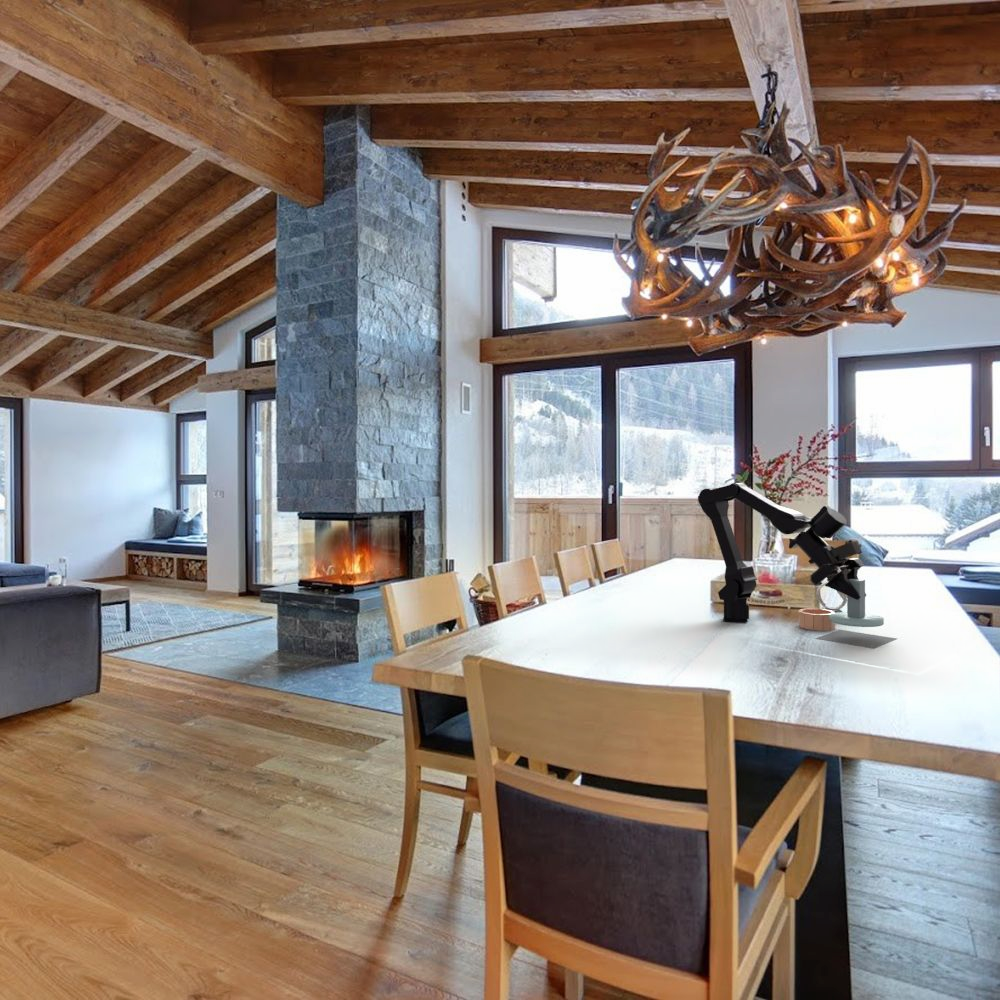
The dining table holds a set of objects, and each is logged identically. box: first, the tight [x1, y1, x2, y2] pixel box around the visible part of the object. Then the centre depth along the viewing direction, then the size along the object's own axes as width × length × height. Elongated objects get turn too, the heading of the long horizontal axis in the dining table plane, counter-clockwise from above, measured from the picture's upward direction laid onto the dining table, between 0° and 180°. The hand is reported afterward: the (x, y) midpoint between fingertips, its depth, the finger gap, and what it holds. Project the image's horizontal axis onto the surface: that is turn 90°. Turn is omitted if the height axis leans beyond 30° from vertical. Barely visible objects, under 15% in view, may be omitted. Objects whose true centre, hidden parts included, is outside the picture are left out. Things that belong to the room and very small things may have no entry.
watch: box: [815, 580, 847, 613], centre depth 193 cm, size 6×8×11 cm
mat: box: [814, 629, 898, 650], centre depth 169 cm, size 14×14×1 cm
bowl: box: [798, 607, 836, 632], centre depth 183 cm, size 9×9×4 cm
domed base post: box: [830, 578, 885, 628], centre depth 169 cm, size 12×12×10 cm
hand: (861, 597), depth 168 cm, fingers closed on domed base post, 3 cm apart
